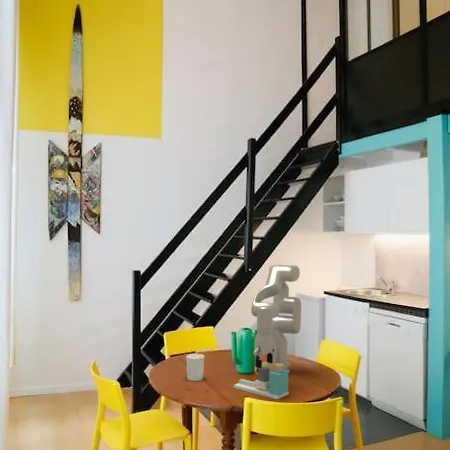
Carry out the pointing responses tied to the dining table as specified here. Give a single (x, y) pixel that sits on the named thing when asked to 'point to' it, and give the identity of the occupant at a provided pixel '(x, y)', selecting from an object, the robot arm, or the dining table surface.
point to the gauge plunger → (278, 367)
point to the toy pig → (267, 365)
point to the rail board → (258, 391)
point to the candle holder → (195, 366)
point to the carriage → (262, 378)
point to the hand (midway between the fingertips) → (264, 365)
